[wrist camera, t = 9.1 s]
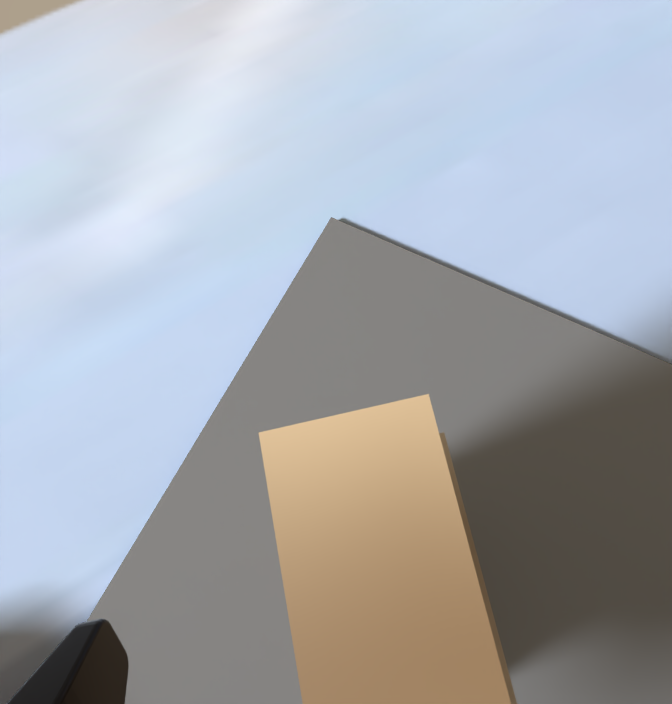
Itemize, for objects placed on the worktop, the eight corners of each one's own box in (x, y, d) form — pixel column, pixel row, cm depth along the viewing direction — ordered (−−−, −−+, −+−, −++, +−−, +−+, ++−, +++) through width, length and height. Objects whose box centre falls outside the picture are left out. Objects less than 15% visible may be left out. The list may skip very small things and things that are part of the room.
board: (467, 698, 17) (627, 1096, 5) (396, 712, 17) (375, 1141, 5) (416, 490, 19) (437, 391, 7) (352, 504, 19) (258, 432, 7)
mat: (866, 454, 18) (875, 452, 18) (624, 1210, 14) (631, 1229, 13) (332, 222, 23) (331, 217, 22) (24, 734, 18) (15, 738, 18)
